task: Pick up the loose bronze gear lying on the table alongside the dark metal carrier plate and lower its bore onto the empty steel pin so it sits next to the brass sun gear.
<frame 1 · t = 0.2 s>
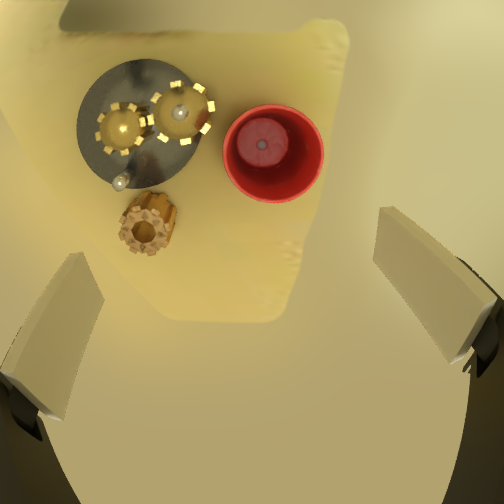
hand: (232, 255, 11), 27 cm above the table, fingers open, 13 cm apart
carrier: (137, 123, 31), on the table
gear: (152, 213, 38), on the table
flower pot: (261, 142, 35), on the table
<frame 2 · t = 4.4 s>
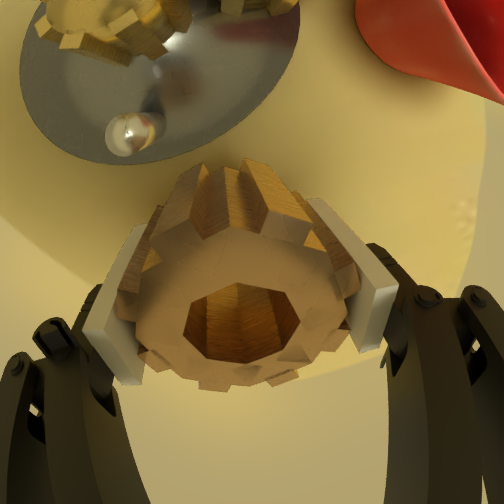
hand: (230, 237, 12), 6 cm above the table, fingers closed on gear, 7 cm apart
carrier: (145, 26, 11), on the table
gear: (230, 234, 13), point 5 cm above the table, touching gripper
flower pot: (397, 29, 12), on the table
when the fingers open (3 cm above the table, at t = 7.4 s): gear drops 1 cm, resting on carrier.
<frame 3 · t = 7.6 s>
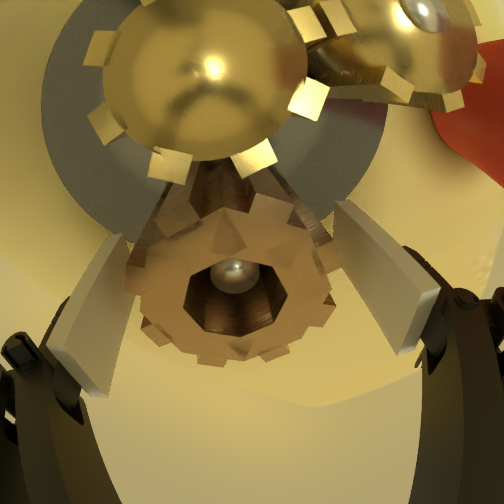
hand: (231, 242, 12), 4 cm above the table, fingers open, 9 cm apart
carrier: (210, 85, 11), on the table
gear: (227, 223, 14), point 1 cm above the table, touching carrier
flower pot: (459, 103, 13), on the table
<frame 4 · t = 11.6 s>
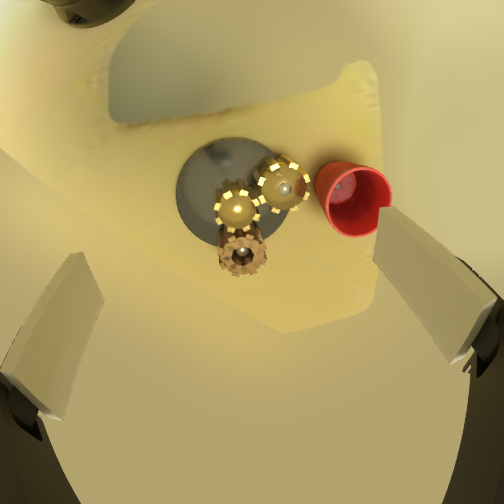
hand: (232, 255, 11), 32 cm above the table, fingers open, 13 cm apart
carrier: (233, 194, 42), on the table
gear: (239, 237, 45), point 1 cm above the table, touching carrier
flower pot: (335, 183, 44), on the table
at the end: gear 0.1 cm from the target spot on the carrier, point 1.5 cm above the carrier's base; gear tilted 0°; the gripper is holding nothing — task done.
